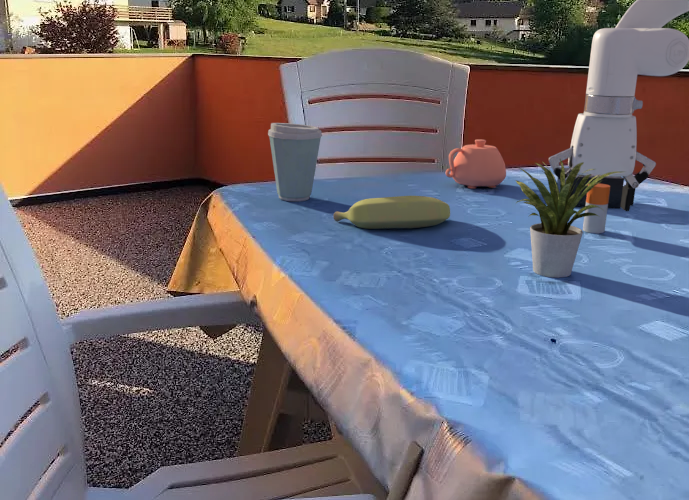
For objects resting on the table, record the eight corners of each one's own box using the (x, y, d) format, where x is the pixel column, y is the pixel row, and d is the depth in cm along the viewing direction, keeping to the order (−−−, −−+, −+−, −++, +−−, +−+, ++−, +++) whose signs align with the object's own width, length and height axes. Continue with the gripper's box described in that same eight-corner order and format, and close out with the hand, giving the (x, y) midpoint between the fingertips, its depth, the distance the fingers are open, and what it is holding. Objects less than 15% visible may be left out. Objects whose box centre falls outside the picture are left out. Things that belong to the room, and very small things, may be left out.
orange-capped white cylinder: (601, 228, 124) (607, 183, 122) (606, 234, 120) (612, 187, 118) (580, 227, 124) (585, 182, 122) (585, 233, 121) (590, 186, 119)
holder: (607, 197, 149) (610, 169, 148) (620, 208, 139) (624, 178, 138) (555, 195, 150) (558, 167, 149) (565, 206, 140) (568, 176, 139)
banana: (443, 191, 116) (325, 199, 120) (445, 225, 116) (326, 231, 120) (450, 196, 129) (343, 203, 133) (451, 227, 129) (344, 232, 133)
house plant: (597, 258, 107) (610, 150, 102) (626, 288, 93) (643, 166, 89) (501, 254, 107) (510, 147, 103) (517, 284, 94) (528, 163, 90)
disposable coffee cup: (302, 190, 150) (302, 119, 146) (332, 200, 142) (333, 124, 138) (258, 196, 144) (257, 122, 140) (288, 206, 136) (287, 128, 131)
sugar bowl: (515, 189, 156) (519, 143, 153) (456, 192, 152) (459, 144, 149) (489, 179, 167) (493, 135, 164) (434, 181, 163) (436, 136, 160)
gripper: (655, 106, 119) (641, 205, 124) (550, 103, 121) (540, 201, 126) (670, 110, 112) (654, 215, 117) (558, 107, 114) (547, 211, 118)
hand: (595, 208), depth 121 cm, fingers open, 9 cm apart
